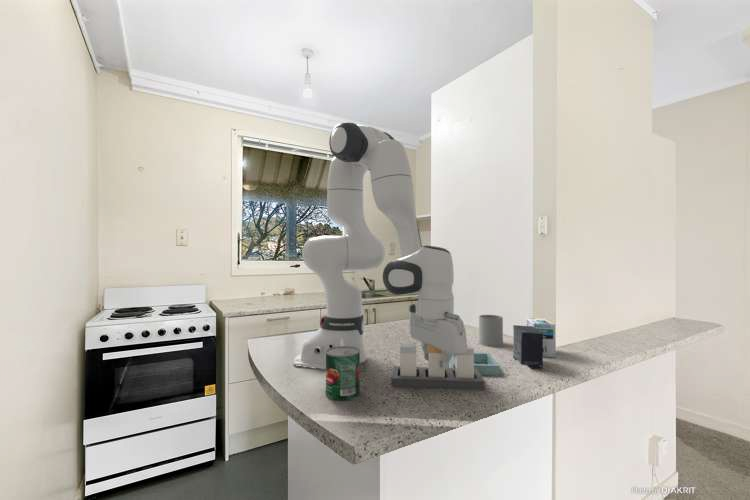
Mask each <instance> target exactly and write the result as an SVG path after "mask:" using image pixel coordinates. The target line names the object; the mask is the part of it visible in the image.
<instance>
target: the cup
mask: <svg viewBox="0 0 750 500" xmlns="http://www.w3.org/2000/svg"><path fill="white" fill-rule="evenodd" d="M503 319H504V318H503V316H501V315H494V314H481V315H479V316H478V344H480V345H481V346H484V347H491V348H496V347H498V348H499V346H500V347H503V346H504V331H503V330H504V321H503ZM502 345H503V346H502Z"/></svg>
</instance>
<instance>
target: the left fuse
mask: <svg viewBox="0 0 750 500" xmlns="http://www.w3.org/2000/svg"><path fill="white" fill-rule="evenodd" d="M399 352H400V353H399V355H400V358H399V359H400V360H399V362H400V363H399V366H400V376H416V367H417V343H416V342H400V346H399Z"/></svg>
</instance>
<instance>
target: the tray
mask: <svg viewBox="0 0 750 500" xmlns="http://www.w3.org/2000/svg"><path fill="white" fill-rule="evenodd" d="M483 363H485V364H483ZM449 366H450V368H455V356H453V355H452V357H451V359H450V361H449ZM474 369H478V371H479V373H480V374H481V376H500V372H501V371H500V365H499V363H498V362H497V361H496V359H495V358H494V357H493V356H492V354H491V353H490V352H474Z"/></svg>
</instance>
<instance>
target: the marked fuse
mask: <svg viewBox="0 0 750 500" xmlns="http://www.w3.org/2000/svg"><path fill="white" fill-rule="evenodd" d="M442 358H443V355H442V351H441V350H439V349H437V348H434V347H433V346H431V345H428V361H427V363H428V364H427V365H428V366H427V367H428V377H445V369H443V368H441V367H440V360H442Z"/></svg>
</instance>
